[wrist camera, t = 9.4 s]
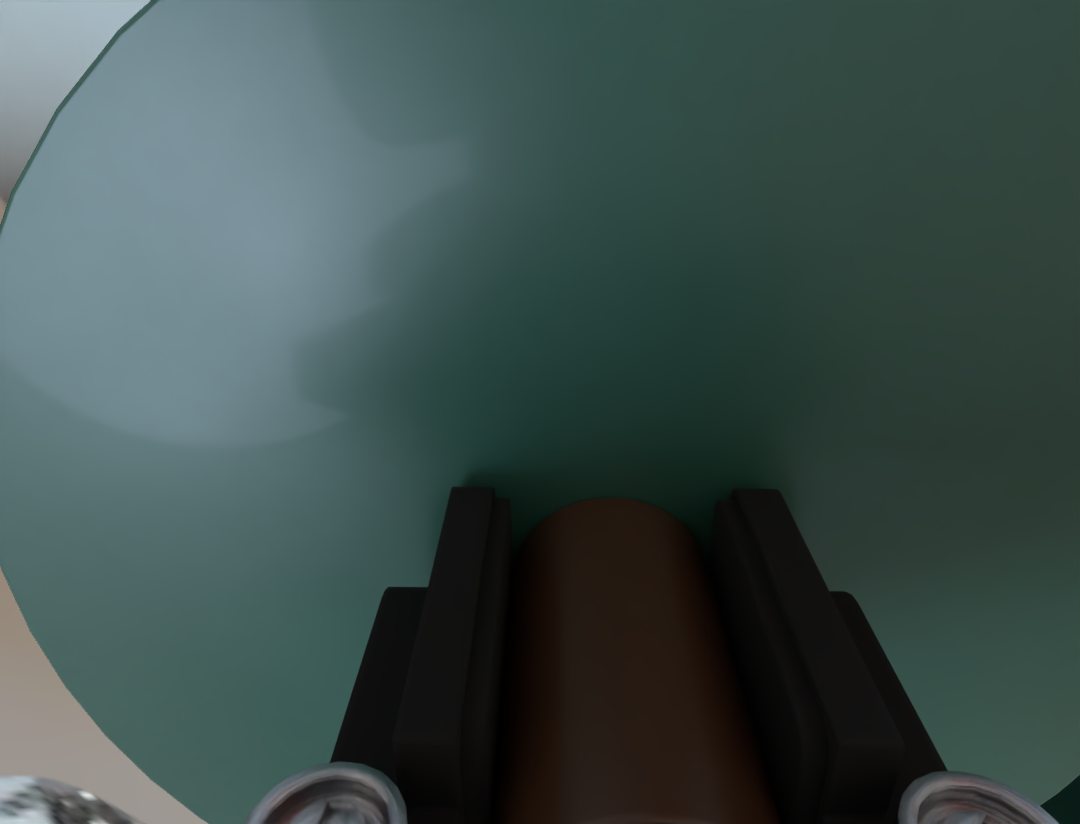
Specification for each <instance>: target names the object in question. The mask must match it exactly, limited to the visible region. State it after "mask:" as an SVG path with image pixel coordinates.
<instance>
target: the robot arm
mask: <svg viewBox="0 0 1080 824" xmlns="http://www.w3.org/2000/svg"><path fill="white" fill-rule="evenodd" d="M708 571H709V574H710V578H711V581H712V585H713V588H714V592H715V595H716V599H717V602H718V606H719V609H720V613H721V616H722V620H723V623H724V627H725V630H726V634H727V637H728V641H729V644H730V648H731V651H732V655H733V658H734V661H735V665H736V668H737V672H738V675H739V679H740V682H741V686H742V689H743V693H744V696H745V700H746V703H747V707H748V710H749V714H750V717H751V721H752V724H753V728H754V731H755V735H756V738H757V742H758V745H759V749H760V752H761V756H762V759H763V763H764V766H765V770H766V773H767V777H768V780H769V784H770V787H771V791H772V794H773V798H774V801H775V805H776V808H777V812H778V815H779V818H780V822H781V824H1059V823H1058V822H1057V821H1056V820H1055V819H1054V818H1053V817H1052V816H1050V815H1049V814H1048V813H1047V812H1046V811H1045V810H1044V809H1043V808H1042V807H1040V806H1039V805H1038V804H1037V803H1035V802H1034V801H1032V800H1031V799H1029V798H1027V797H1026V796H1024V795H1023V794H1021V793H1019V792H1018V791H1016V790H1015V789H1013V788H1012V787H1010V786H1007V785H1005V784H1002V783H1000V782H997V781H995V780H992V779H990V778H987V777H985V776H982V775H977V774H972V773H966V772H961V771H948V770H947V768H946V766H945V764H944V763H943V761H942V759H941V757H940V755H939V753H938V751H937V750H936V748H935V746H934V744H933V742H932V740H931V738H930V736H929V735H928V733H927V731H926V729H925V727H924V725H923V723H922V721H921V720H920V718H919V716H918V714H917V712H916V710H915V708H914V706H913V705H912V703H911V701H910V699H909V697H908V695H907V693H906V692H905V690H904V688H903V686H902V684H901V682H900V680H899V678H898V677H897V675H896V673H895V671H894V669H893V667H892V665H891V663H890V662H889V660H888V658H887V656H886V654H885V652H884V650H883V649H882V647H881V645H880V643H879V641H878V639H877V637H876V635H875V634H874V632H873V630H872V628H871V626H870V624H869V622H868V620H867V619H866V617H865V615H864V613H863V611H862V609H861V607H860V605H859V604H858V602H857V601H856V599H855V598H854V597H853V595H852V594H850V593H848V592H846V591H829V590H828V588H827V585H826V583H825V581H824V579H823V577H822V575H821V573H820V571H819V569H818V567H817V565H816V563H815V561H814V559H813V557H812V555H811V553H810V551H809V549H808V547H807V545H806V543H805V541H804V539H803V537H802V535H801V533H800V531H799V529H798V527H797V525H796V523H795V521H794V519H793V517H792V515H791V513H790V511H789V508H788V506H787V504H786V502H785V500H784V498H783V496H782V494H781V493H780V491H779V490H777V489H733V490H732V492H731V495H730V499H729V500H717V502H716V505H715V510H714V518H713V527H712V536H711V545H710V553H709V562H708ZM511 582H512V536H511V502H510V498H495V489H494V487H452V488H451V491H450V496H449V500H448V504H447V508H446V513H445V517H444V521H443V525H442V530H441V534H440V538H439V542H438V546H437V551H436V555H435V559H434V563H433V568H432V572H431V576H430V580H429V585H428V587H388V588H387V589H386V590H385V591H384V593H383V596H382V598H381V601H380V604H379V608H378V611H377V614H376V617H375V620H374V623H373V627H372V630H371V633H370V636H369V639H368V643H367V646H366V649H365V652H364V655H363V658H362V662H361V665H360V668H359V671H358V674H357V677H356V681H355V684H354V687H353V690H352V693H351V697H350V700H349V703H348V706H347V709H346V712H345V716H344V719H343V722H342V725H341V728H340V731H339V735H338V738H337V741H336V744H335V747H334V750H333V754H332V757H331V760H330V763H327V764H321V765H315V766H312V767H310V768H308V769H305V770H303V771H300V772H298V773H296V774H293V775H291V776H289V777H288V778H287V779H285V780H284V781H282V782H281V783H280V784H278V785H277V786H275V787H274V788H273V789H271V790H270V791H269V792H267V794H266V795H265V796H264V797H263V798H262V799H261V800H260V802H259V803H258V804H257V805H256V806H255V807H254V809H253V810H252V811H251V812H250V814H249V816H248V818H247V820H246V822H245V824H491V821H492V809H493V797H494V785H495V773H496V761H497V749H498V737H499V726H500V714H501V702H502V690H503V678H504V666H505V654H506V642H507V630H508V618H509V606H510V594H511Z"/></svg>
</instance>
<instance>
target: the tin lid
mask: <svg viewBox="0 0 1080 824" xmlns="http://www.w3.org/2000/svg"><path fill="white" fill-rule="evenodd" d="M452 487H494V489H495V498H510V502H511V536H512V582H511V594H510V606H509V618H508V630H507V642H506V654H505V666H504V678H503V690H502V702H501V714H500V726H499V737H498V749H497V761H496V773H495V785H494V797H493V809H492V821H491V824H781V822H780V818H779V815H778V812H777V808H776V805H775V801H774V798H773V794H772V791H771V787H770V784H769V780H768V777H767V773H766V770H765V766H764V763H763V759H762V756H761V752H760V749H759V745H758V742H757V738H756V735H755V731H754V728H753V724H752V721H751V717H750V714H749V710H748V707H747V703H746V700H745V696H744V693H743V689H742V686H741V682H740V679H739V675H738V672H737V668H736V665H735V661H734V658H733V655H732V651H731V648H730V644H729V641H728V637H727V634H726V630H725V627H724V623H723V620H722V616H721V613H720V609H719V606H718V602H717V599H716V595H715V592H714V588H713V585H712V581H711V578H710V574H709V571H708V562H709V553H710V545H711V536H712V527H713V518H714V510H715V505H716V502H717V500H729V499H730V495H731V492H732V490H733V489H777V490H779V491H780V493H781V494H782V496H783V498H784V500H785V502H786V504H787V506H788V508H789V511H790V513H791V515H792V517H793V519H794V521H795V523H796V525H797V527H798V529H799V531H800V533H801V535H802V537H803V539H804V541H805V543H806V545H807V547H808V549H809V551H810V553H811V555H812V557H813V559H814V561H815V563H816V565H817V567H818V569H819V571H820V573H821V575H822V577H823V579H824V581H825V583H826V585H827V588H828V590H829V591H846V592H848V593H850V594H852V595H853V597H854V598H855V599H856V601H857V602H858V604H859V605H860V607H861V609H862V611H863V613H864V615H865V617H866V619H867V620H868V622H869V624H870V626H871V628H872V630H873V632H874V634H875V635H876V637H877V639H878V641H879V643H880V645H881V647H882V649H883V650H884V652H885V654H886V656H887V658H888V660H889V662H890V663H891V665H892V667H893V669H894V671H895V673H896V675H897V677H898V678H899V680H900V682H901V684H902V686H903V688H904V690H905V692H906V693H907V695H908V697H909V699H910V701H911V703H912V705H913V706H914V708H915V710H916V712H917V714H918V716H919V718H920V720H921V721H922V723H923V725H924V727H925V729H926V731H927V733H928V735H929V736H930V738H931V740H932V742H933V744H934V746H935V748H936V750H937V751H938V753H939V755H940V757H941V759H942V761H943V763H944V764H945V766H946V768H947V770H948V771H961V772H966V773H972V774H977V775H982V776H985V777H987V778H990V779H992V780H995V781H997V782H1000V783H1002V784H1005V785H1007V786H1010V787H1012V788H1013V789H1015V790H1016V791H1018V792H1019V793H1021V794H1023V795H1024V796H1026V797H1027V798H1029V799H1031V800H1032V801H1034V802H1035V803H1037V804H1038V805H1039V806H1040V805H1041V804H1043V803H1044V802H1046V801H1047V800H1049V799H1050V798H1052V797H1053V796H1055V795H1056V794H1057V793H1059V792H1060V791H1061V790H1062V789H1063V788H1065V787H1066V786H1067V785H1068V784H1069V783H1070V782H1072V781H1073V780H1074V779H1075V778H1076V777H1078V776H1079V775H1080V0H151V1H150V2H149V3H148V4H146V5H145V6H144V7H143V8H142V9H141V10H140V11H139V12H138V13H137V14H136V15H134V16H133V17H132V18H131V19H130V20H129V21H128V22H127V23H126V24H125V25H123V26H122V27H121V28H120V29H119V30H118V31H117V33H116V34H115V35H114V36H113V38H112V39H111V40H110V41H109V43H108V44H107V45H106V47H105V48H104V49H103V50H102V52H101V53H100V54H99V55H98V57H97V58H96V59H95V61H94V62H93V63H92V64H91V66H90V67H89V68H88V70H87V71H86V72H85V73H84V75H83V76H82V77H81V78H80V80H79V81H78V82H77V84H76V85H75V86H74V87H73V89H72V90H71V91H70V92H69V94H68V95H67V96H66V98H65V99H64V100H63V101H62V103H61V104H60V105H59V106H58V108H57V109H56V111H55V113H54V115H53V117H52V119H51V120H50V122H49V124H48V126H47V128H46V130H45V131H44V133H43V135H42V137H41V139H40V141H39V142H38V144H37V146H36V148H35V150H34V152H33V154H32V155H31V157H30V159H29V161H28V163H27V165H26V166H25V168H24V170H23V172H22V174H21V176H20V177H19V179H18V181H17V183H16V185H15V187H14V188H13V190H12V192H11V195H10V198H9V201H8V204H7V207H6V210H5V213H4V216H3V219H2V222H1V224H0V566H1V570H2V572H3V574H4V576H5V578H6V581H7V583H8V585H9V587H10V589H11V591H12V593H13V596H14V598H15V600H16V602H17V604H18V606H19V608H20V611H21V613H22V615H23V617H24V619H25V621H26V623H27V626H28V628H29V630H30V632H31V633H32V635H33V637H34V638H35V640H36V641H37V643H38V644H39V646H40V648H41V649H42V651H43V652H44V654H45V655H46V657H47V659H48V660H49V662H50V663H51V665H52V666H53V668H54V669H55V671H56V672H57V674H58V676H59V677H60V679H61V681H62V682H63V684H64V685H65V687H66V688H67V689H68V690H69V692H70V693H71V694H72V695H73V696H74V698H75V699H76V700H77V701H78V703H79V704H80V705H81V706H82V707H83V709H84V710H85V711H86V712H87V713H88V715H89V716H90V717H91V718H92V720H93V721H94V722H95V723H96V725H98V727H99V728H100V729H101V731H102V732H103V733H104V734H105V735H106V737H108V739H109V740H111V741H112V742H113V743H114V744H115V745H116V746H117V747H118V748H119V749H120V750H121V751H122V752H123V753H124V754H125V755H126V756H127V757H128V758H129V759H130V760H131V761H132V762H133V763H134V764H135V765H136V766H137V767H138V768H140V769H141V770H142V772H144V773H145V774H146V775H147V776H148V777H149V778H150V779H151V780H152V781H153V782H155V783H156V784H157V785H158V786H160V787H161V788H162V789H164V790H165V791H166V792H167V793H169V794H170V795H171V796H172V797H174V798H175V799H176V800H177V801H179V802H180V803H181V804H183V805H184V806H185V807H187V808H188V809H189V810H190V811H191V812H193V813H194V814H195V815H197V816H198V817H199V818H201V819H202V820H204V821H206V822H207V823H208V824H245V822H246V820H247V818H248V816H249V814H250V812H251V811H252V810H253V809H254V807H255V806H256V805H257V804H258V803H259V802H260V800H261V799H262V798H263V797H264V796H265V795H266V794H267V792H269V791H270V790H271V789H273V788H274V787H275V786H277V785H278V784H280V783H281V782H282V781H284V780H285V779H287V778H288V777H289V776H291V775H293V774H296V773H298V772H300V771H303V770H305V769H308V768H310V767H312V766H315V765H321V764H327V763H330V760H331V757H332V754H333V750H334V747H335V744H336V741H337V738H338V735H339V731H340V728H341V725H342V722H343V719H344V716H345V712H346V709H347V706H348V703H349V700H350V697H351V693H352V690H353V687H354V684H355V681H356V677H357V674H358V671H359V668H360V665H361V662H362V658H363V655H364V652H365V649H366V646H367V643H368V639H369V636H370V633H371V630H372V627H373V623H374V620H375V617H376V614H377V611H378V608H379V604H380V601H381V598H382V596H383V593H384V591H385V590H386V589H387V588H388V587H428V585H429V580H430V576H431V572H432V568H433V563H434V559H435V555H436V551H437V546H438V542H439V538H440V534H441V530H442V525H443V521H444V517H445V513H446V508H447V504H448V500H449V496H450V491H451V488H452Z"/></svg>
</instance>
